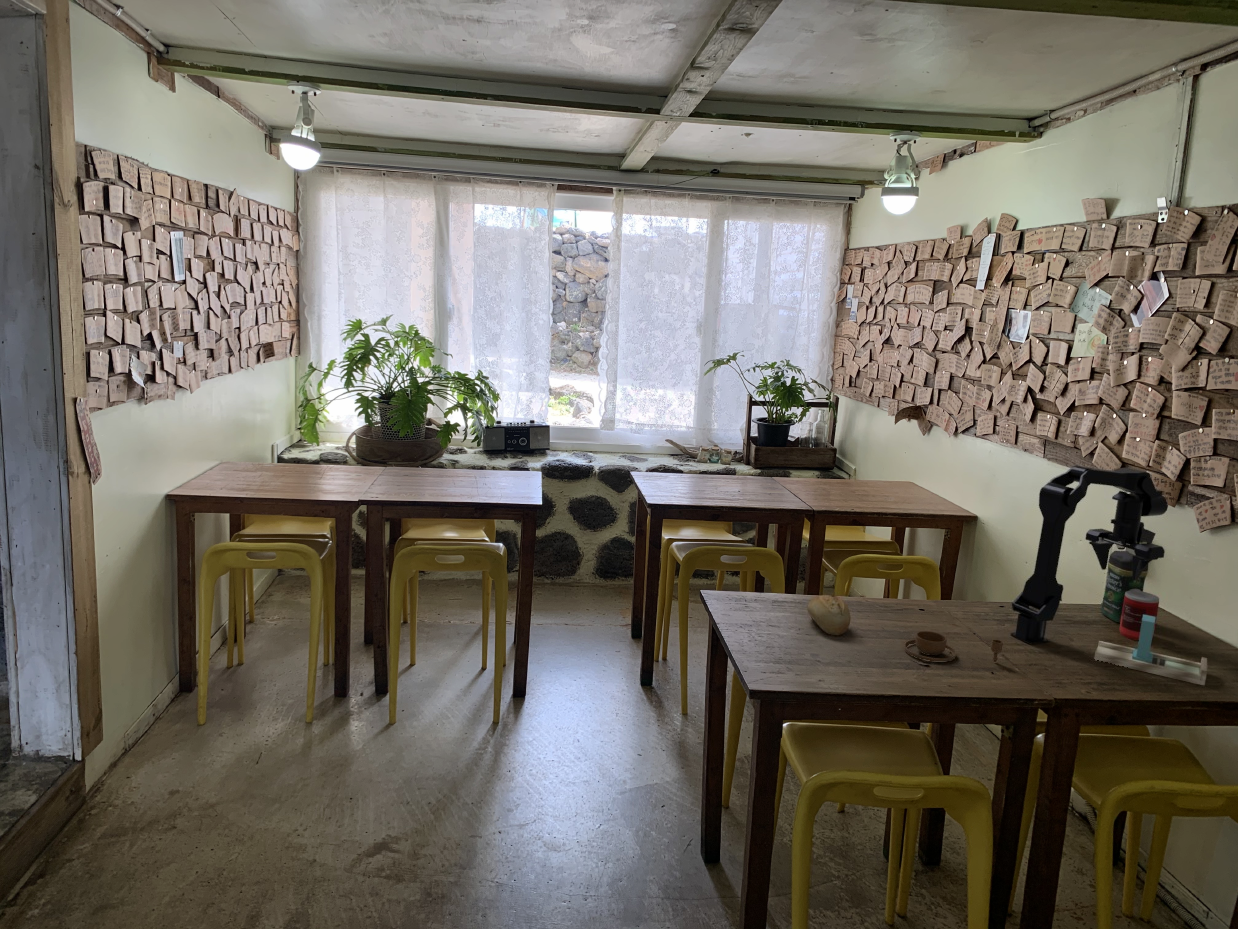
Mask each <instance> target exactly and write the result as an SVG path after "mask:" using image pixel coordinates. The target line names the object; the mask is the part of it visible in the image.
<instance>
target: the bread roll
mask: <svg viewBox="0 0 1238 929" xmlns="http://www.w3.org/2000/svg"><path fill="white" fill-rule="evenodd" d="M807 613H808V615H809V616H810V618H812V619H813V621H814V622H815V623H816V624H817V625H818V627H819V628H820V629H821V630H822V631H824V632H825V633H826V634H828V635H830V634H831V635H830V636H835V635H836V636H841V635H843V634H844V633H846V632H847V630H848V629H849V627H850V625H851V612H850V608H849V606H848V605H847V603H846V601H844V599H842V598H841V597H840V596H837V595H836V594H831V595H830V594H829V595H828V594H824V595H817V596H815V597H813V598H812V599H811V600H810V601H809V603H808V605H807Z"/></svg>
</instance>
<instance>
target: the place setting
mask: <svg viewBox="0 0 1238 929" xmlns="http://www.w3.org/2000/svg"><path fill="white" fill-rule="evenodd" d="M947 641H948V639H947V637H946V636H945V635H943V634H941V633H938V632H936V631H928V630H921V631H918V632H916V635H915V639H909V640H906V641H905V642H904V643H903V649H904V651H905V653H906V652H907V653H908V654H907V653H906V654H907V655H909V654H910V655H913V656H915V657H917V658H921V659H926V660H930V661H950V660H953V659H954V660H955V659H956V658H957V654H958V653H957V650H956V649H955V648H953V647H952V646H951V645H948V644H947V643H948V642H947ZM914 643H916V645H915V647H916V649H918V650H919V651H920V652H923V653H925V654H929V655H938V656H939V655H940V654H943V653H944V652H945V651H946V650H945V648H947V649H949V650H950V651H952V652H953V654H954V656H952V655H951V657H945V658H940V657H938V658H937V657H936V658H935V657H931V656H926V655H921V654H918V653H916V652H913V651H911V650H910V649H909V648H906V647H907V646H908V645H909V644H914ZM1003 643H1004V642H1003V640H1000V639H991V642H990V650H991V652H993V657H992V662H993V661H994V662H997V661H998V659H999V658H998V654H1000V653H1001V652H1002V650H1003V645H1004V644H1003ZM910 655H909V656H910ZM955 657H956V658H955ZM954 660H953V661H954Z"/></svg>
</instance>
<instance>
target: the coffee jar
mask: <svg viewBox="0 0 1238 929" xmlns="http://www.w3.org/2000/svg"><path fill="white" fill-rule="evenodd" d="M1109 554H1110V555H1109V557H1108V563H1107V578H1106V584H1105V588H1104V593H1103V598H1102V602H1101V608H1100V612H1101V614H1102V615H1103V616H1105V617H1106V618H1108V619H1110V620H1112V621H1114V622H1116V623H1120V622H1121V616H1122V609H1123V603H1124V597H1125V592H1127V591H1142V592H1144V587H1145V580H1146V578H1147V576H1148V572H1149V564H1148V565H1147V566H1146V567H1145V569H1144V570H1143V572H1142V573H1141V575H1140V576H1139V578H1138V580H1136V581H1134V580H1133V576H1132V564H1133V556H1136V554H1135V553H1134V554H1133V553H1131V552H1130V551H1128V550H1114V551H1113V552H1111V553H1109Z"/></svg>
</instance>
